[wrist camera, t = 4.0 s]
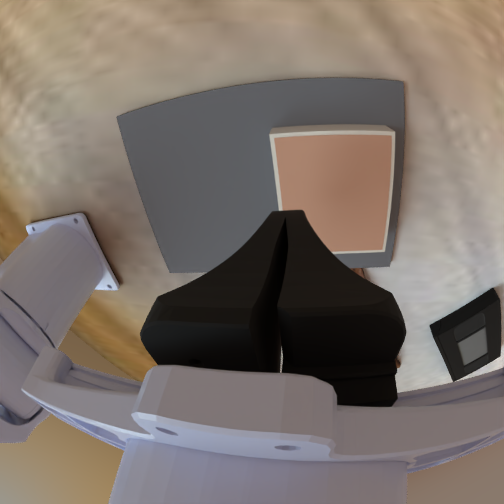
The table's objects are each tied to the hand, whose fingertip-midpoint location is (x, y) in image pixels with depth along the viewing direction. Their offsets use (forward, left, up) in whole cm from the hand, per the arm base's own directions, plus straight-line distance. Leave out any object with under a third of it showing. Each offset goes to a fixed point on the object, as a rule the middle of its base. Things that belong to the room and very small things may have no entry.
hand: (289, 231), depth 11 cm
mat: (-2, 0, -5) cm, 5 cm away
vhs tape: (+20, -18, -6) cm, 27 cm away
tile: (-1, 0, -4) cm, 4 cm away
